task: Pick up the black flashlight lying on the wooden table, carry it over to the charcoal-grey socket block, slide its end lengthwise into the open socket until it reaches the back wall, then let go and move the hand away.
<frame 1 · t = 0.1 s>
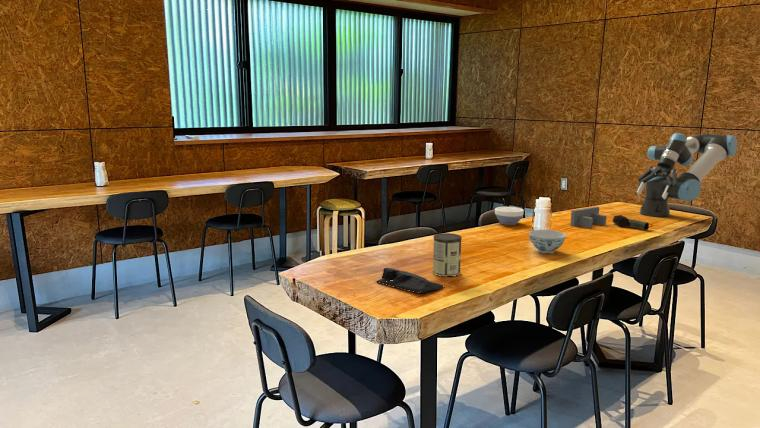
hand: (650, 195, 281), 15 cm above the table, tool tilted 35°, fingers open, 13 cm apart
bowl: (508, 223, 286), on the table
coffee can: (446, 273, 205), on the table
black cloth: (410, 286, 192), on the table
chinaware: (546, 251, 235), on the table
black flashlight: (628, 228, 279), on the table
socket block: (590, 224, 284), on the table
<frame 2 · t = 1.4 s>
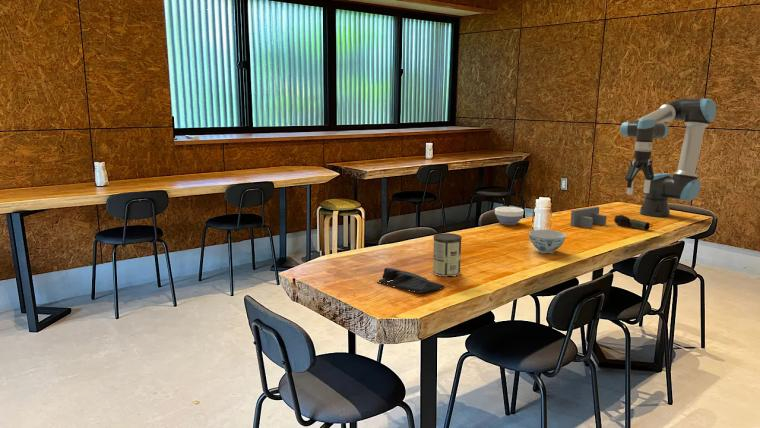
hand: (637, 193, 273), 18 cm above the table, tool pointing down, fingers open, 13 cm apart
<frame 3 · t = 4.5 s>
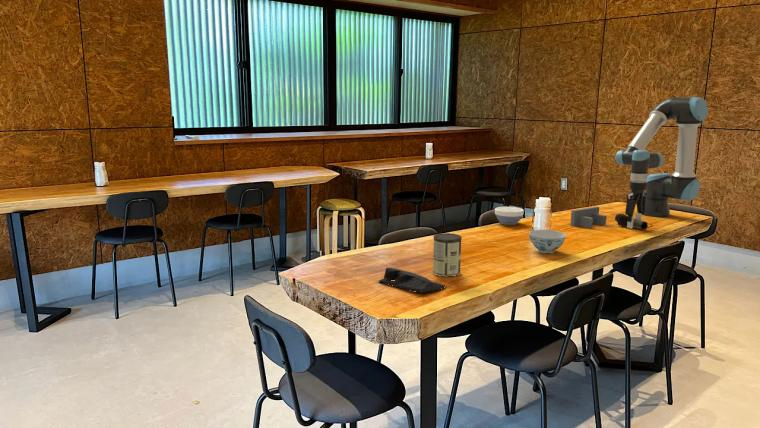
hand: (633, 226, 277), 1 cm above the table, tool pointing down, fingers closed on black flashlight, 6 cm apart
black flashlight: (628, 226, 279), on the table, touching gripper
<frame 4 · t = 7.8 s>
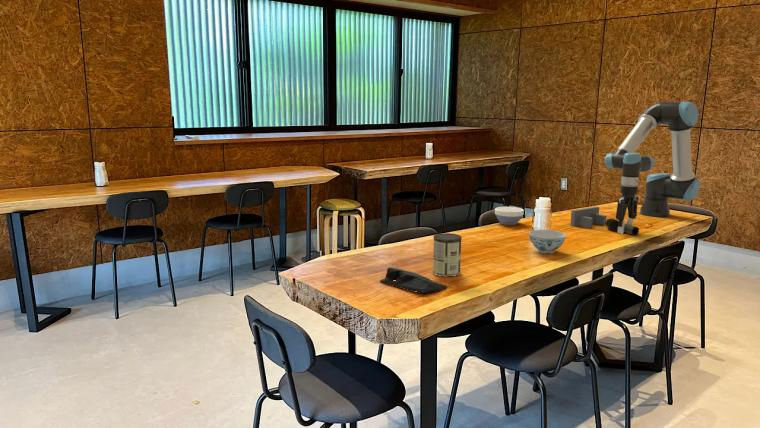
hand: (624, 232, 268), 0 cm above the table, tool pointing down, fingers closed on black flashlight, 6 cm apart
black flashlight: (619, 231, 270), on the table, touching gripper
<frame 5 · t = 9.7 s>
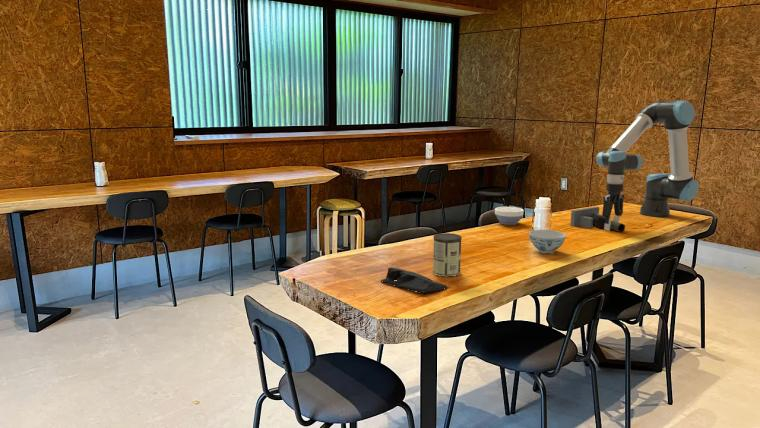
hand: (611, 229, 273), 0 cm above the table, tool pointing down, fingers closed on black flashlight, 6 cm apart
black flashlight: (605, 228, 276), on the table, touching gripper
when the fingers open (0 cm above the table, at t = 11.1 s): black flashlight stays where it is, on the table.
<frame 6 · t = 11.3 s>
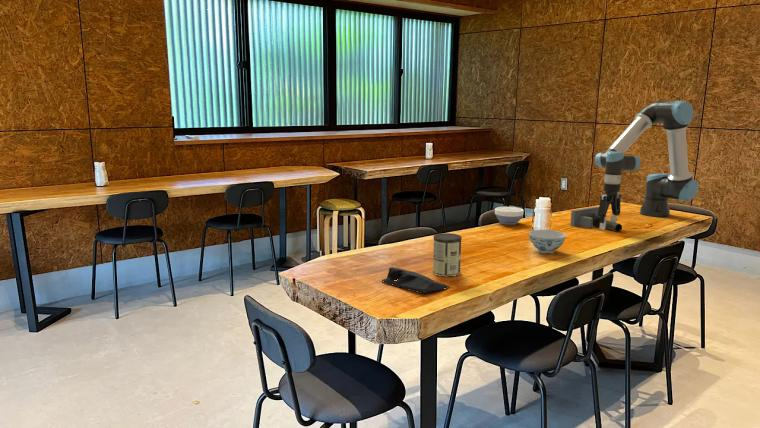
hand: (607, 228, 274), 0 cm above the table, tool pointing down, fingers open, 8 cm apart
black flashlight: (603, 228, 277), on the table
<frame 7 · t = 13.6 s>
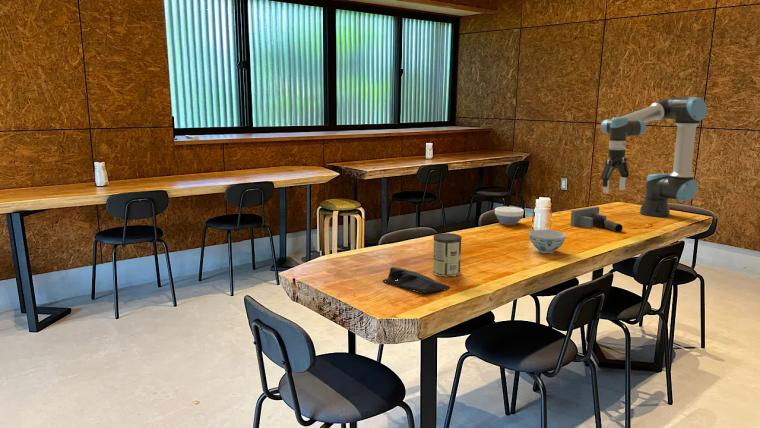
hand: (613, 191, 275), 18 cm above the table, tool pointing down, fingers open, 13 cm apart
black flashlight: (604, 229, 277), on the table, touching socket block
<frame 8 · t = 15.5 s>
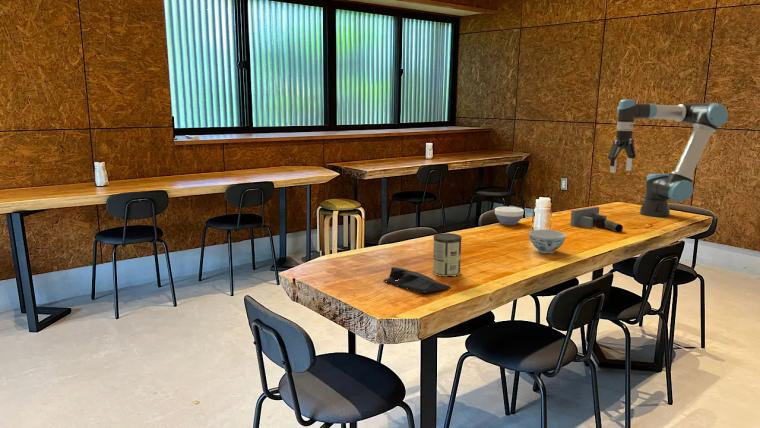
hand: (620, 171, 286), 27 cm above the table, tool pointing down, fingers open, 13 cm apart
black flashlight: (604, 229, 277), on the table
at the end: black flashlight 2.6 cm from the target spot on the table beside the socket block, on the table; the gripper is holding nothing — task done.
